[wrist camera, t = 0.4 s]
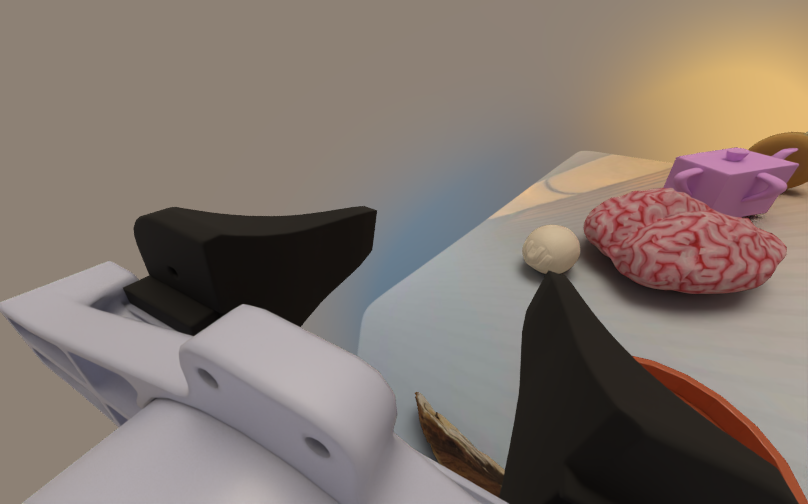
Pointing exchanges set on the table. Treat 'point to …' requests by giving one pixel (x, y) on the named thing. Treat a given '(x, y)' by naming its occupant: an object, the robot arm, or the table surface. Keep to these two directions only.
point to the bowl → (723, 417)
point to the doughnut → (803, 156)
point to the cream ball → (551, 249)
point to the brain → (682, 243)
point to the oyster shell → (458, 450)
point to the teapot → (733, 179)
